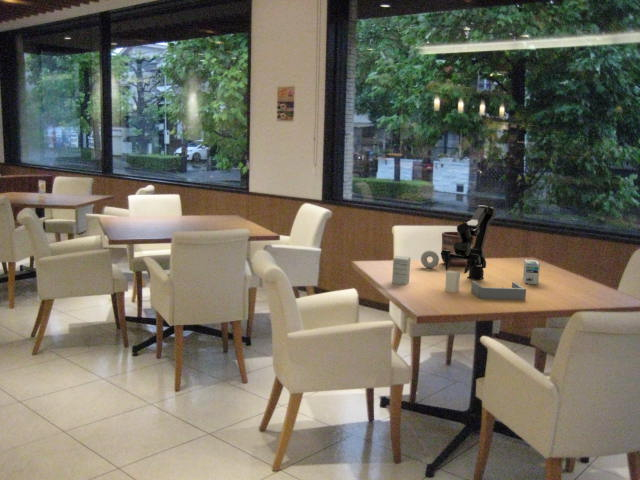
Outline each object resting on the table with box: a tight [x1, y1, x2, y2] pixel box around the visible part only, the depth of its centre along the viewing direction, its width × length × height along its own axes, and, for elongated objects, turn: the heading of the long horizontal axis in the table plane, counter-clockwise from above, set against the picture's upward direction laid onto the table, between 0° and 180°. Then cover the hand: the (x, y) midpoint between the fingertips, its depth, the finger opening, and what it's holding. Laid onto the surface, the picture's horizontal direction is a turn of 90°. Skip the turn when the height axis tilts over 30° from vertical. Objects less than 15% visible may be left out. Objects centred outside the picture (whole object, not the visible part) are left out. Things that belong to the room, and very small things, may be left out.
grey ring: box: [420, 250, 440, 269], centre depth 348 cm, size 10×3×10 cm, turn 70°
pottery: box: [440, 231, 475, 267], centre depth 360 cm, size 18×18×18 cm
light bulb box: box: [522, 259, 541, 285], centre depth 323 cm, size 11×7×11 cm, turn 168°
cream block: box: [444, 269, 461, 293], centre depth 298 cm, size 5×5×9 cm
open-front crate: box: [470, 280, 527, 301], centre depth 292 cm, size 14×21×5 cm, turn 93°
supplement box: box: [391, 255, 411, 285], centre depth 310 cm, size 7×7×13 cm
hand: (455, 271), depth 300 cm, fingers open, 9 cm apart
